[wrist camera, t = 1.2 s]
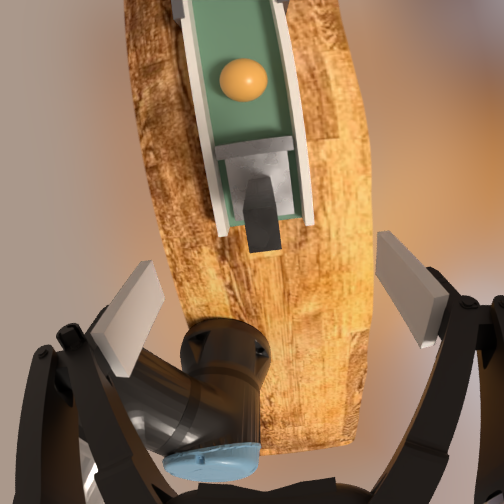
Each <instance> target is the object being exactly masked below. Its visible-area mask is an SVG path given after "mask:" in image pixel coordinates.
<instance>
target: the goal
mask: <svg viewBox="0 0 504 504" xmlns="http://www.w3.org/2000/svg"><path fill="white" fill-rule="evenodd" d="M277 2H278V3H283V8H284V12H285V16H286V12H287V8H288V4H289V0H277ZM171 4H172V12H173V20H174V21H175V22H176V23H177V24H178V25H179V26H180V27H181V29H182V24H181V19H183V18H185V13H184V5H183V0H171Z"/></svg>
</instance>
